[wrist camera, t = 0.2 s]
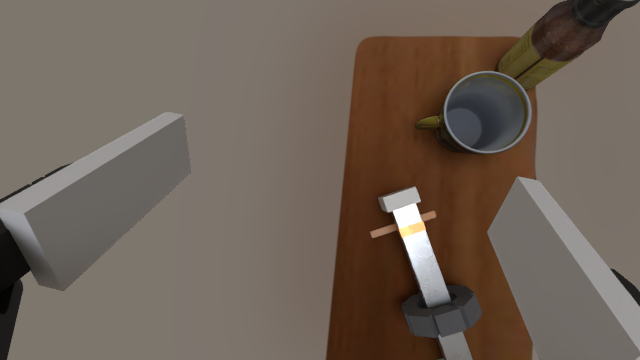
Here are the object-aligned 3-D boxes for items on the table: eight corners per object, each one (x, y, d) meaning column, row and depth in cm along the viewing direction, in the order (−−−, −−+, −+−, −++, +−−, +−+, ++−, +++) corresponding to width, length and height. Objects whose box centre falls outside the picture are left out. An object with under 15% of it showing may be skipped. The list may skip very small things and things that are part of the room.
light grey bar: (474, 374, 41) (485, 390, 38) (450, 381, 41) (459, 397, 38) (408, 195, 43) (413, 195, 40) (386, 203, 43) (389, 203, 40)
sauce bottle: (546, 71, 46) (695, -24, 26) (516, 102, 46) (643, 31, 26) (510, 43, 46) (630, -70, 27) (482, 74, 47) (579, -15, 27)
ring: (463, 296, 44) (492, 322, 35) (403, 315, 45) (416, 345, 36) (457, 279, 44) (484, 300, 35) (397, 298, 45) (409, 324, 36)
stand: (489, 359, 44) (516, 391, 37) (421, 379, 45) (435, 413, 38) (423, 182, 47) (436, 179, 39) (360, 203, 47) (362, 204, 40)
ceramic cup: (486, 92, 46) (524, 64, 36) (497, 158, 46) (538, 147, 36) (399, 105, 48) (412, 81, 38) (408, 169, 47) (424, 162, 37)
